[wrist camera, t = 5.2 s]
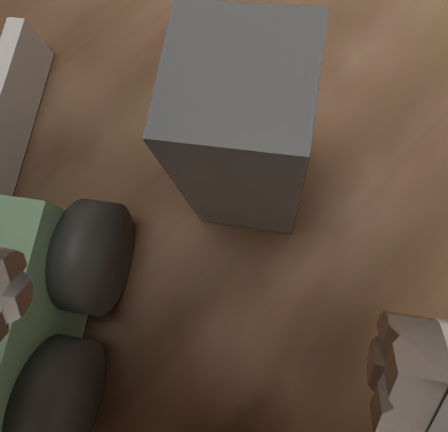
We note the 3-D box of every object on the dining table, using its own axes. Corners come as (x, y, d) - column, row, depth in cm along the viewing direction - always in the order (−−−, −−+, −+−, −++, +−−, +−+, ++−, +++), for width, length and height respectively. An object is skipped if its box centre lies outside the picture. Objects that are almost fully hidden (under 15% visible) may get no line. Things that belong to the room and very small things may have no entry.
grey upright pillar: (202, 221, 21) (142, 138, 11) (217, 139, 22) (173, -2, 12) (291, 234, 20) (309, 157, 10) (302, 149, 21) (328, 7, 11)
